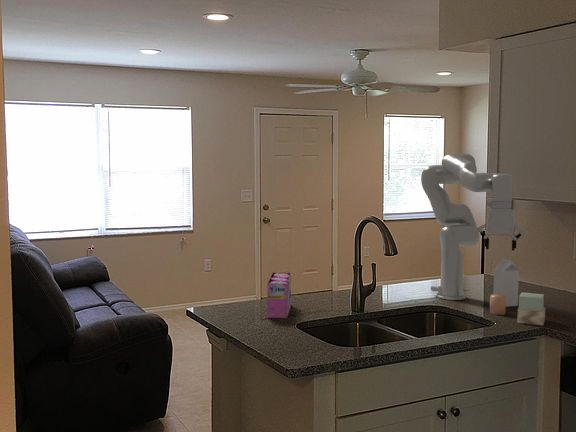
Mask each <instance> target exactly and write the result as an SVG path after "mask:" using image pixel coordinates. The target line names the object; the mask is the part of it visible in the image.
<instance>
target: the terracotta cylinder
mask: <svg viewBox="0 0 576 432" xmlns="http://www.w3.org/2000/svg"><path fill="white" fill-rule="evenodd" d="M506 311H507V307H506V295H502V294H493V293H492V294H490V296H489V314H491V315H496V316H504V315H506Z"/></svg>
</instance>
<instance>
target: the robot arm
mask: <svg viewBox="0 0 576 432" xmlns="http://www.w3.org/2000/svg"><path fill="white" fill-rule="evenodd" d="M476 163H477V162H476V160H475V158H474V156H473V154H472V155H471V154H469V153H449V154H446V155H445V156H444V157H442V159H441V164H436V165H435V164H434V165H433V164H432V165H428V166H427V167H425V168H424V169H423V170H422V172H421V176H420V177H421V178H420V183H421V186H422V187H421V188H422V189H423V191H424V193H425V195H426V196H427V198H428V200H429V202H430V206H431V209H432V211H433V214H434V217H435V219H436V222H437V223H438V224H439V225H440V226H444V227H442V228H441V229H440V231H439V243H440V250H441V251H440V253H441V254H440V255H441V257H440V285H439V286H432V285H431V286H430V291H431V292H437V293H436V298H439V299H440V300H441V299H442V300H449V301H462V300H465V299H467V294H465V293H464V271H465V270H464V269H465V268H464V266H465V261H464V260H465V258H464V254H463V252H462V249H461V248H462V247H464V248H465V247H472V246H476V245H477V244H478V243H479V241H480V236H481V237H482V238H483V239H484V247H485V249H486V250H488V249H490V238H489V237H490V236H509V237H511V238H512V240H511V251H513V252H514V251H515V250H516V249H517V240H518V239H519V238H521V236H522V235H523V234H524V231H525V228H523V227H522V226H519V225H518V224H515V213H514V209H512V204H513V203H512V201H513V200H512V199H513V198H512V197H513V175H512V174H509V173H497V172H477V171H478V170H477V169H478V167H477V165H476ZM458 183H459V184H460V185H461V186H462V187H463V188H465V189H466V190H468V191H470V192H473V193H491V199H490V200H491V201H489V202H487V207H490V208H489V209H488V212H487V221H486V223H484V224H482V225H480V226H478V225H477V224H476V223H477V222H476V221H475V218H474V216H473V213H472V210H471V208H470V207H469V206H468V205H467V204H465V203H462V202H461V203H459V202H458V203H454V202H452V200H451V198H450V196H449V194H448V192H447V191H446V190H445V189H444V187H442V186H441V185H450V184H451V185H454V184H458ZM483 229H486V233H485V232H484V231H483ZM515 229H516V230H518V231H519V232H518V233H517V234H515Z"/></svg>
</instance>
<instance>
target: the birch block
mask: <svg viewBox="0 0 576 432" xmlns="http://www.w3.org/2000/svg"><path fill="white" fill-rule="evenodd" d="M516 316H517V320H516V321H517V324H525V323H526V324H527V325H537V326H544V324H545V321H546V320H545V319H546V307H544V306H543V310H542V312H537V311H527V310H519V308H517V315H516Z"/></svg>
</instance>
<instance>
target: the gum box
mask: <svg viewBox="0 0 576 432" xmlns="http://www.w3.org/2000/svg"><path fill="white" fill-rule="evenodd" d="M270 275H271V276H270V278H269V280H268V282H267V284H266V285H267V286H266V287H267V289H266V290H267V291H266V294H267V296H266V297H267V299H266V302H267V303H266V307H267V309H266V314H267V315H266V318H267V319H270V318H271V319H288V316H289V312H290V310H291V306H292V287H291V286H292V279H291V278H292V275H291V272H287V273H277V272H275V271H274V272H272V273H271V274H270Z"/></svg>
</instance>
